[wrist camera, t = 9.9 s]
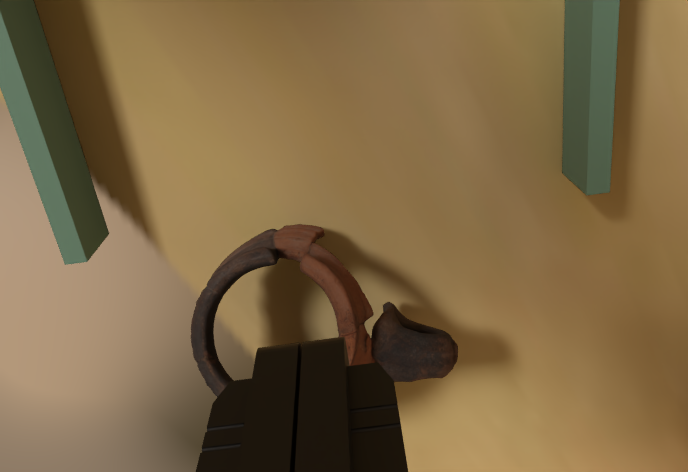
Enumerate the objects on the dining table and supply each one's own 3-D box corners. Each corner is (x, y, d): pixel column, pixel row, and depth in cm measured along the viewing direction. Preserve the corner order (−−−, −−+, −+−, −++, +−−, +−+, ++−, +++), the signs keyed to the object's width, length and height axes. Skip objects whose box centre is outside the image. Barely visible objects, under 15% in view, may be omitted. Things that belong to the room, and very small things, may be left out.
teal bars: (-73, -216, 22) (-176, -259, 18) (607, -325, 22) (682, -400, 17) (82, 237, 30) (39, 287, 25) (589, 169, 29) (638, 208, 25)
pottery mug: (239, 396, 34) (168, 439, 26) (244, 227, 35) (175, 218, 26) (458, 411, 32) (454, 464, 24) (461, 230, 32) (457, 221, 24)
